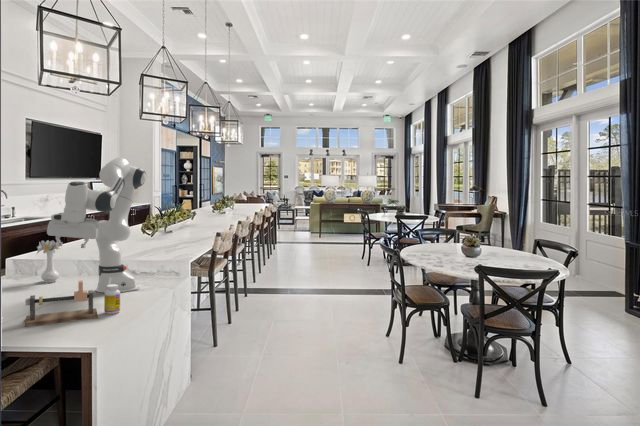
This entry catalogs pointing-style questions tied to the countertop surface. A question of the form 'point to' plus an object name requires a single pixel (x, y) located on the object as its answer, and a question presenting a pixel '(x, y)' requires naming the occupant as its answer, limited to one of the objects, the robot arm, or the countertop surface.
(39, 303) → the dark gray rod
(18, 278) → the countertop surface
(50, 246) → the flower vase
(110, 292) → the supplement bottle
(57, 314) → the towel rod holder
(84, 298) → the peach stepped block
